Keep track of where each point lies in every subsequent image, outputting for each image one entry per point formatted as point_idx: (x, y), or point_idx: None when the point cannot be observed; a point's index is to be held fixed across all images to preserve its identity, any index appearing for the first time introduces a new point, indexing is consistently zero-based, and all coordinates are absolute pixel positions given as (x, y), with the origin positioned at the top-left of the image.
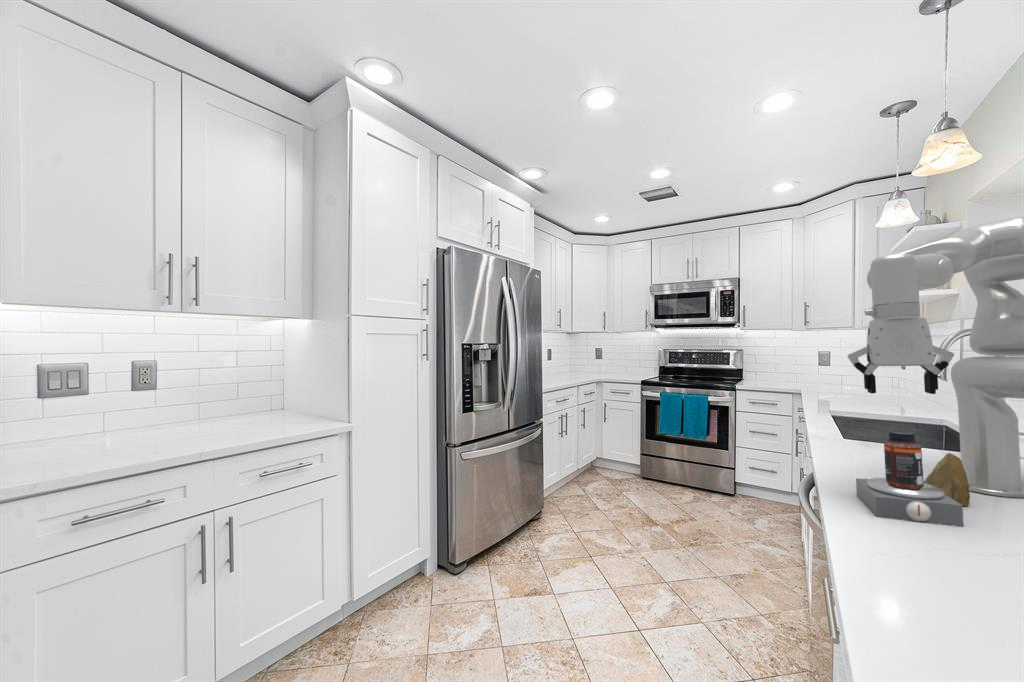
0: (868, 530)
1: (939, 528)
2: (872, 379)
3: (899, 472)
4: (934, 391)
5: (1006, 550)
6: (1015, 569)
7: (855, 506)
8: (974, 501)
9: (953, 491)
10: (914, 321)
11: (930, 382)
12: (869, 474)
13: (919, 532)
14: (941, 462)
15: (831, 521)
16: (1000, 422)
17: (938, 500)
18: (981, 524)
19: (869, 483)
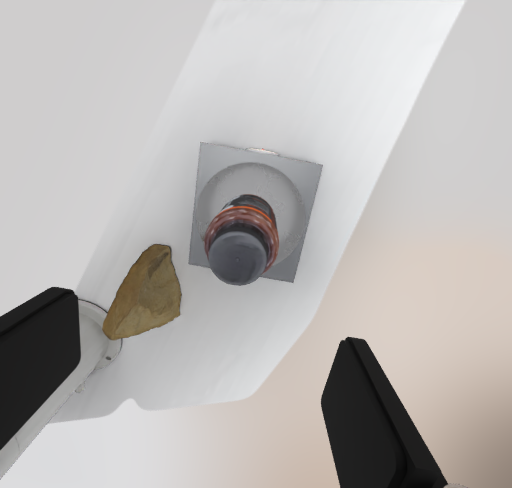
0: (367, 86)
1: (248, 127)
2: (405, 419)
3: (265, 204)
4: (51, 291)
5: (205, 43)
6: None
7: (321, 211)
8: None
9: (158, 260)
10: None
11: (10, 336)
12: (214, 381)
13: (289, 98)
14: (135, 324)
15: (405, 120)
16: None
17: (224, 165)
18: (177, 163)
19: (304, 224)
